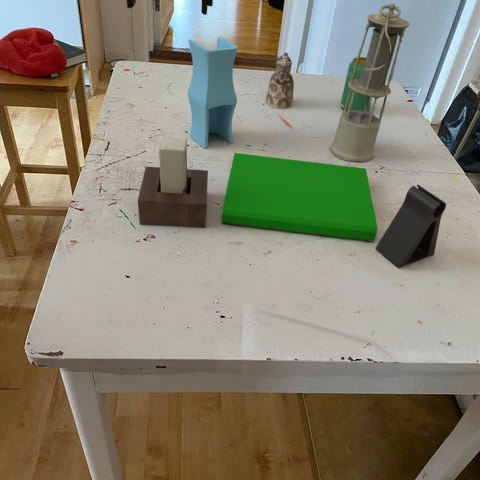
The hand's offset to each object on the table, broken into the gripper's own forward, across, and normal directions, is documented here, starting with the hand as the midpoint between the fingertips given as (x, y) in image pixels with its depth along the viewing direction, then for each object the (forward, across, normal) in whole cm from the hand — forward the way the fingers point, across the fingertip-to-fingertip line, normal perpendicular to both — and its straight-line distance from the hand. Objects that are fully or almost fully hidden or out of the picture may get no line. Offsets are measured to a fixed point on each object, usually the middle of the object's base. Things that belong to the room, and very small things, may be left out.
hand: (168, 8), depth 63 cm
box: (+34, 0, +4) cm, 34 cm away
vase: (+34, +6, +34) cm, 48 cm away
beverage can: (+34, +45, +58) cm, 81 cm away
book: (+34, +24, +9) cm, 42 cm away
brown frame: (+33, 0, +4) cm, 34 cm away
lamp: (+34, +39, +31) cm, 60 cm away
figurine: (+34, +24, +58) cm, 71 cm away
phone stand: (+34, +42, -6) cm, 54 cm away
